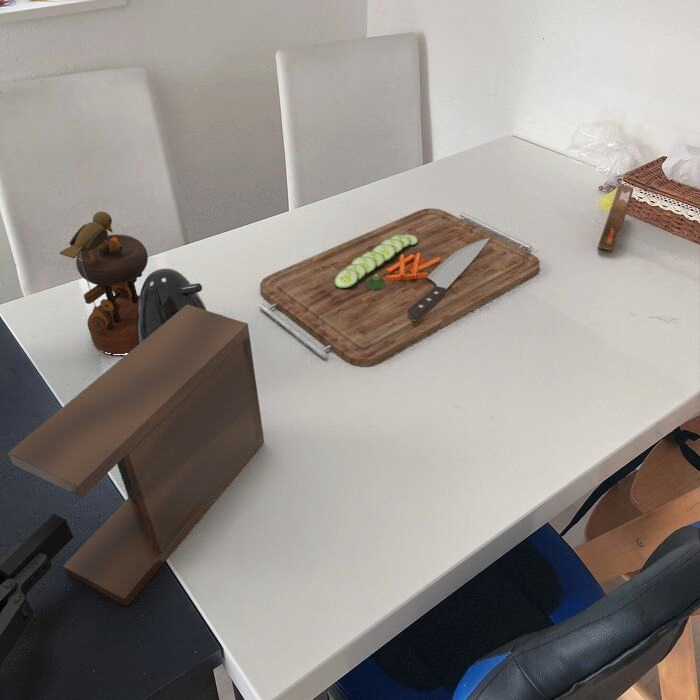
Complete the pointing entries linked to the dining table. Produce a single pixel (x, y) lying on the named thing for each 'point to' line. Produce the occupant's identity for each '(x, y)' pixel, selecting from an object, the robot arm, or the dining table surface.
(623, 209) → the tin
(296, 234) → the dining table surface
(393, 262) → the chopping board
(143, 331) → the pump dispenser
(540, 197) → the dining table surface
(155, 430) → the cabinet frame
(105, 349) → the music box
